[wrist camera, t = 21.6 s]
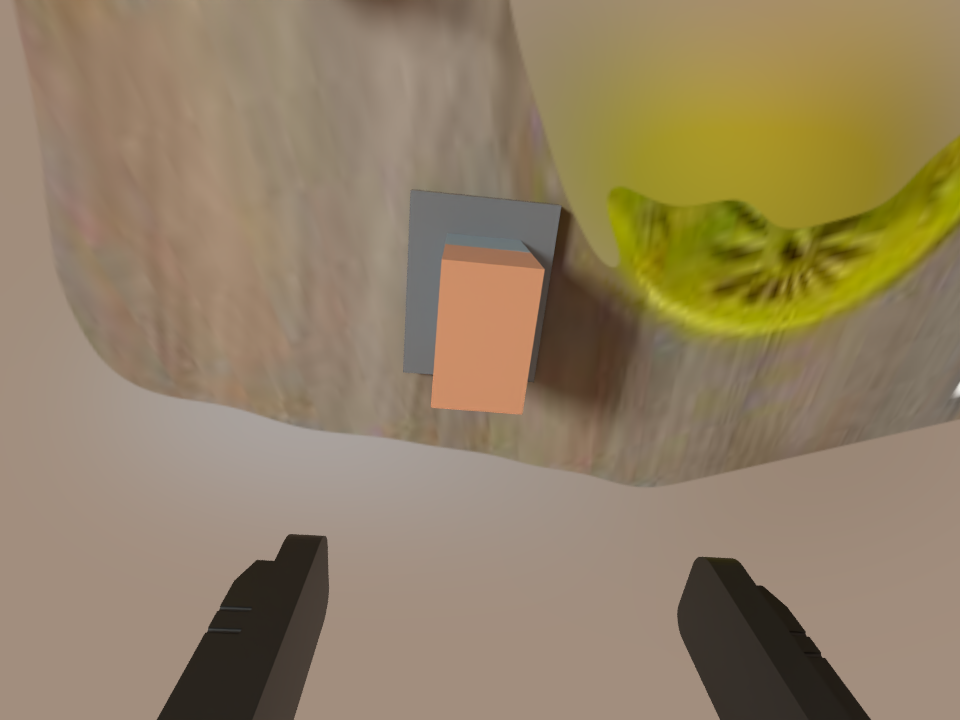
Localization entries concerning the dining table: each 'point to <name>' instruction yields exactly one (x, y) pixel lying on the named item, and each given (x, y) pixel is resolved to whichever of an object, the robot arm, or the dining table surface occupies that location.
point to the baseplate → (472, 218)
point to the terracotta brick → (485, 328)
